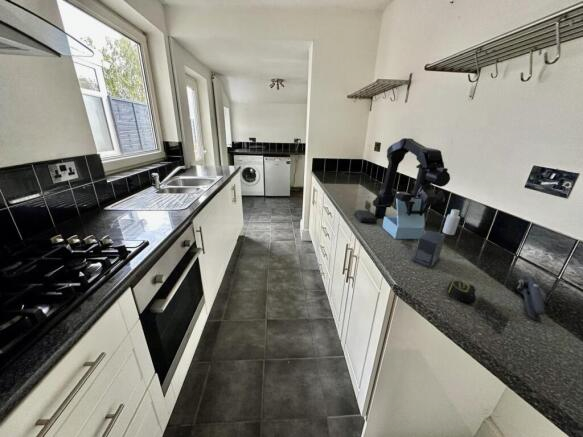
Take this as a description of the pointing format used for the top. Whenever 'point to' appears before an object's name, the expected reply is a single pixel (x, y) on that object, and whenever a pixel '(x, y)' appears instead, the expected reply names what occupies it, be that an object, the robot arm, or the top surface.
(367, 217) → the carrying case
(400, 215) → the lid
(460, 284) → the tape measure
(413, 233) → the light blue box
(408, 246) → the top surface
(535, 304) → the can opener
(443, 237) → the small box
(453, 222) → the bottle
